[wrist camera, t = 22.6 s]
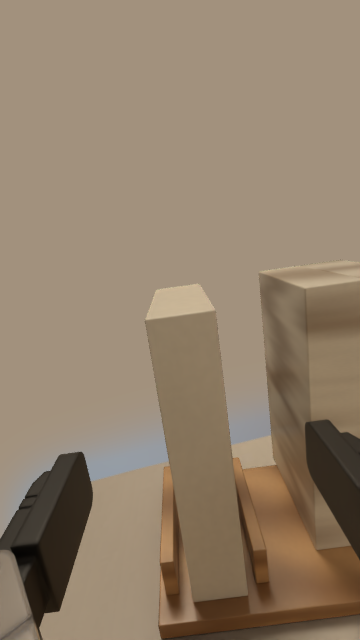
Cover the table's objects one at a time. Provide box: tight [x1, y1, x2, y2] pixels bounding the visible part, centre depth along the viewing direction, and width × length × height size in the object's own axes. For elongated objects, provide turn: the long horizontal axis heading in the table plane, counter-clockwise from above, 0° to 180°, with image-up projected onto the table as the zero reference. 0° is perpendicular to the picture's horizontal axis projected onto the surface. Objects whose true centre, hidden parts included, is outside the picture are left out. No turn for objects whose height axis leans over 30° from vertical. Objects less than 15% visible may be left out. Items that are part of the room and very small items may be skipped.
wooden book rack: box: [158, 260, 360, 639], centre depth 21 cm, size 12×17×18 cm
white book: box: [145, 284, 248, 602], centre depth 20 cm, size 9×3×17 cm, turn 1°
